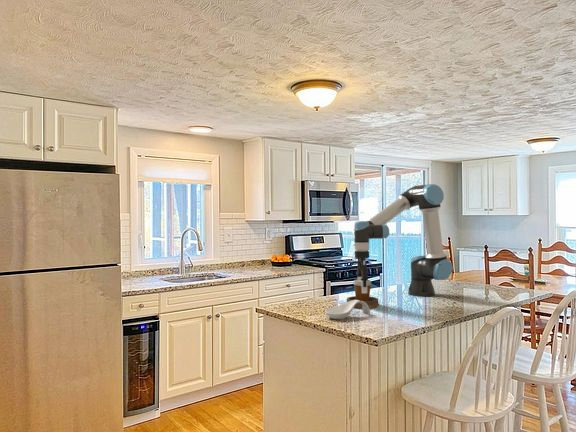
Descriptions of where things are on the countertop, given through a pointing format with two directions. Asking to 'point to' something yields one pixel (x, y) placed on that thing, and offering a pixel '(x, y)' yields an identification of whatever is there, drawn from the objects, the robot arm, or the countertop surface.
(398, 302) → the countertop surface
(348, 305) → the spoon rest
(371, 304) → the brown round dish
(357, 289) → the disposable coffee cup
